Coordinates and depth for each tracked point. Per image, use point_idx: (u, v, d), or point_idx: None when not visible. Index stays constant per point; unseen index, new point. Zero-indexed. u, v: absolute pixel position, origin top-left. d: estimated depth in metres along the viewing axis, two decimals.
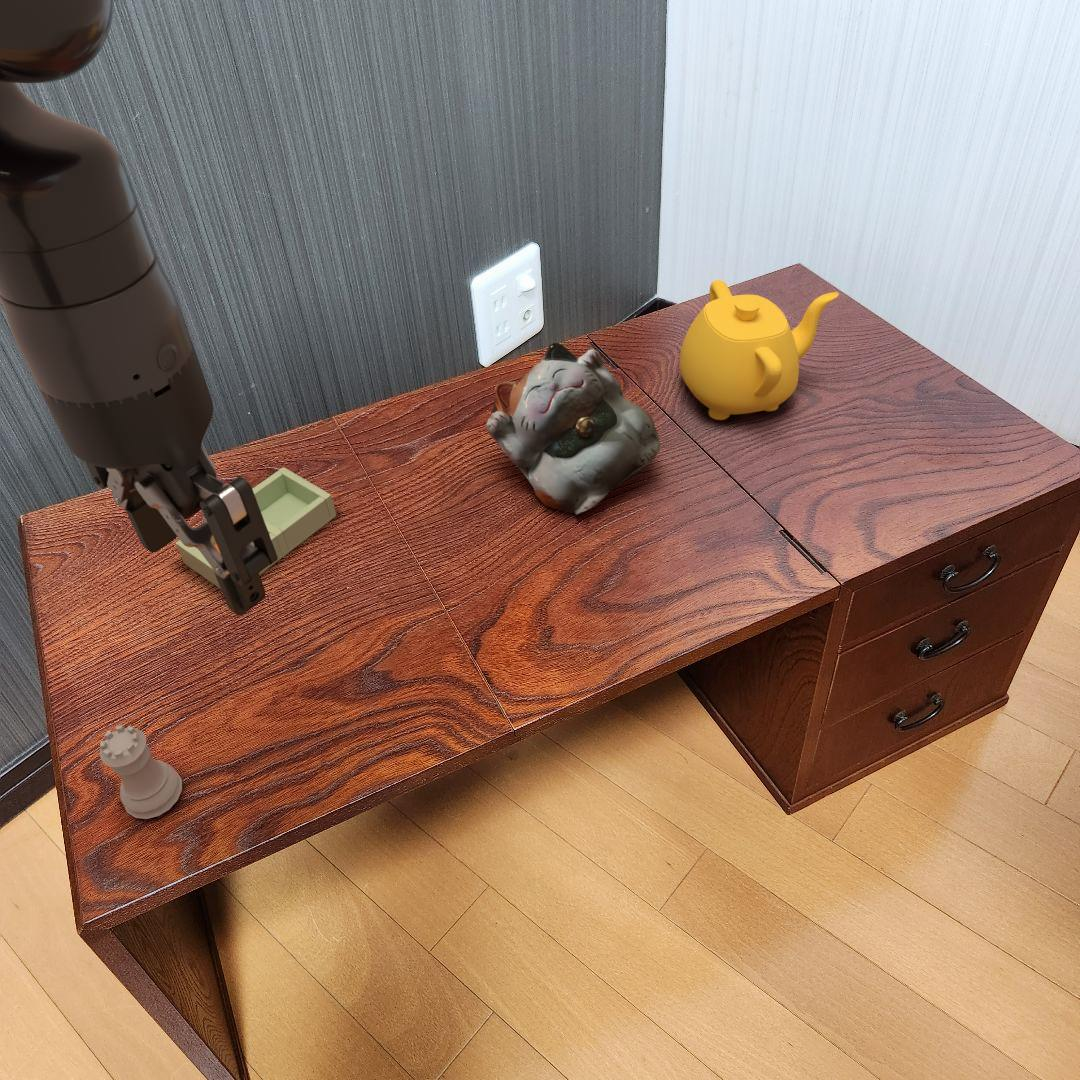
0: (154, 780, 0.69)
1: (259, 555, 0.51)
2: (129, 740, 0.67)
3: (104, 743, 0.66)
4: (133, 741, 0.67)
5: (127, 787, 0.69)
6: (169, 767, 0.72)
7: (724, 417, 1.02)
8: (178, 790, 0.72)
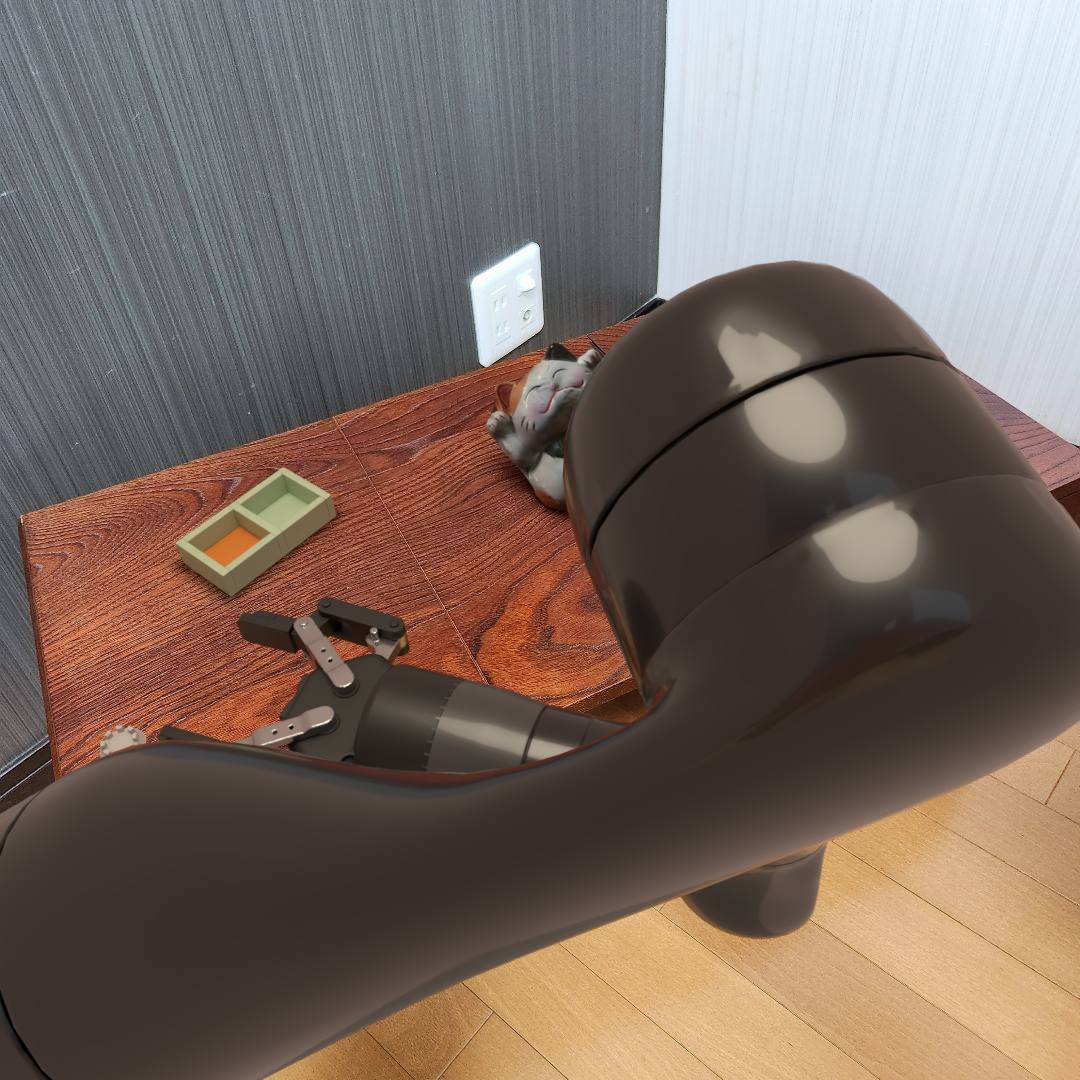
0: None
1: None
2: (129, 740, 0.67)
3: (104, 743, 0.66)
4: (133, 741, 0.67)
5: None
6: None
7: None
8: None
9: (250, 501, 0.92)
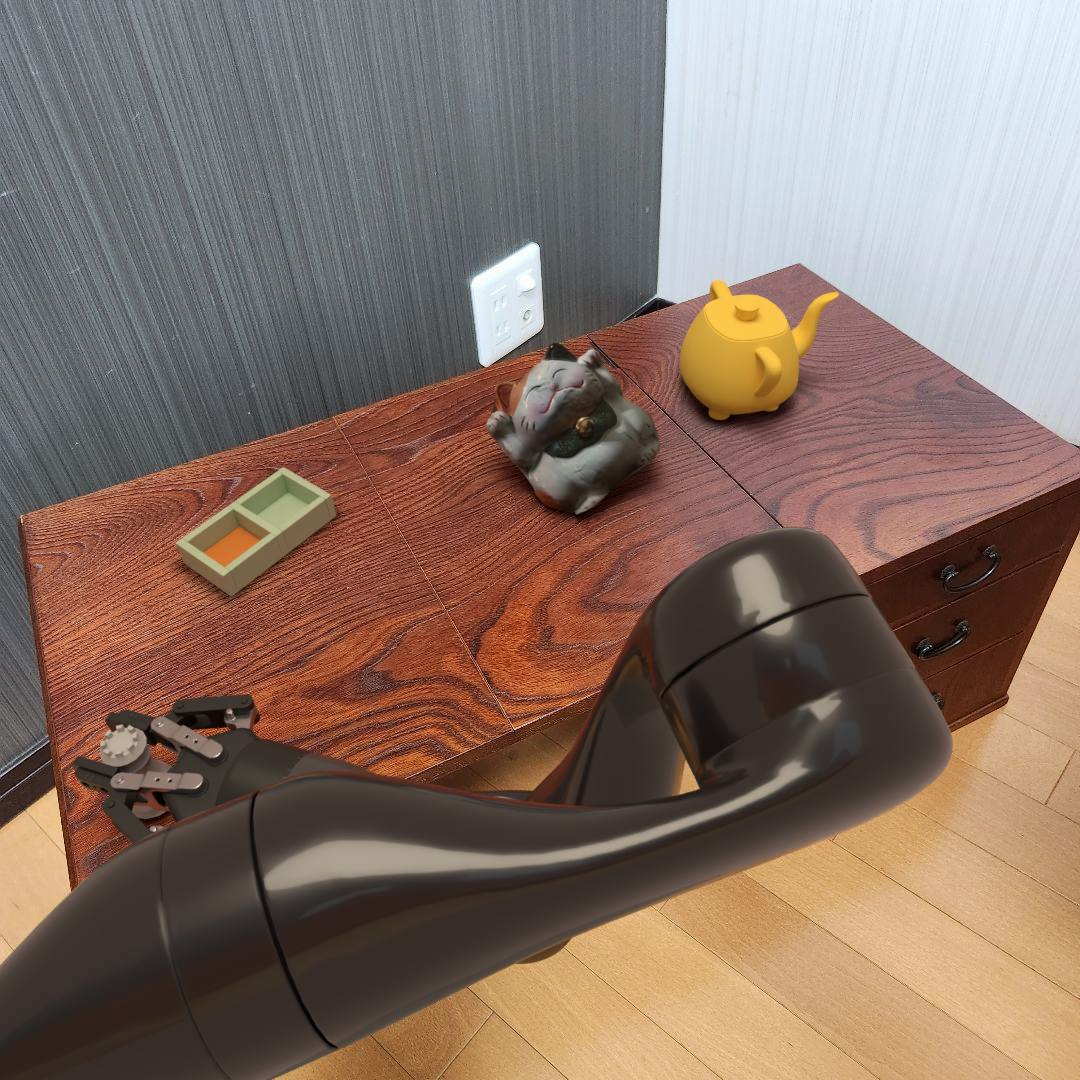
0: None
1: None
2: (129, 740, 0.67)
3: (104, 742, 0.66)
4: (133, 741, 0.67)
5: None
6: (169, 767, 0.72)
7: (724, 417, 1.02)
8: None
9: (250, 501, 0.92)
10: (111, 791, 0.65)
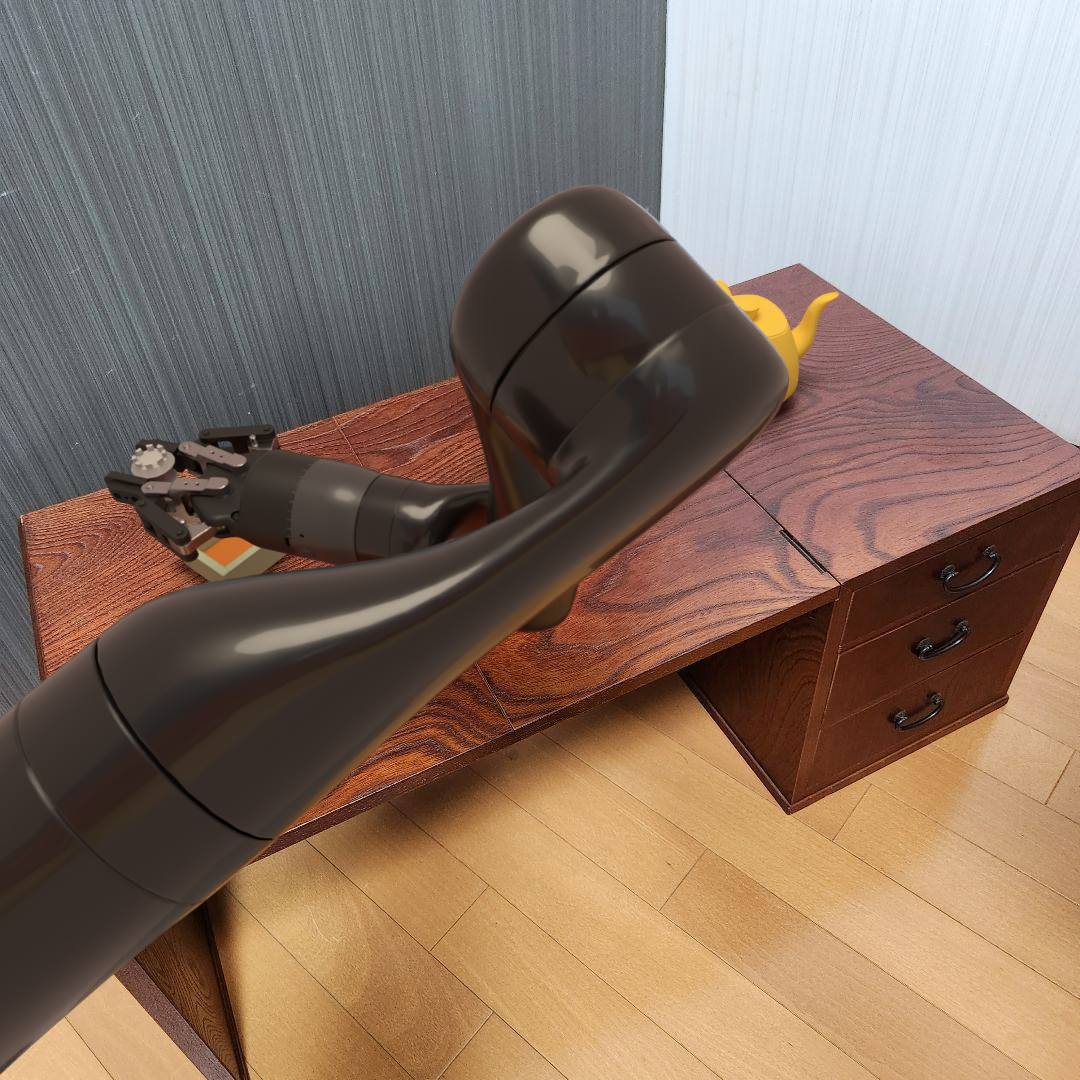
0: None
1: None
2: (158, 456, 0.71)
3: (135, 457, 0.70)
4: (162, 457, 0.71)
5: None
6: None
7: None
8: None
9: None
10: (142, 497, 0.69)
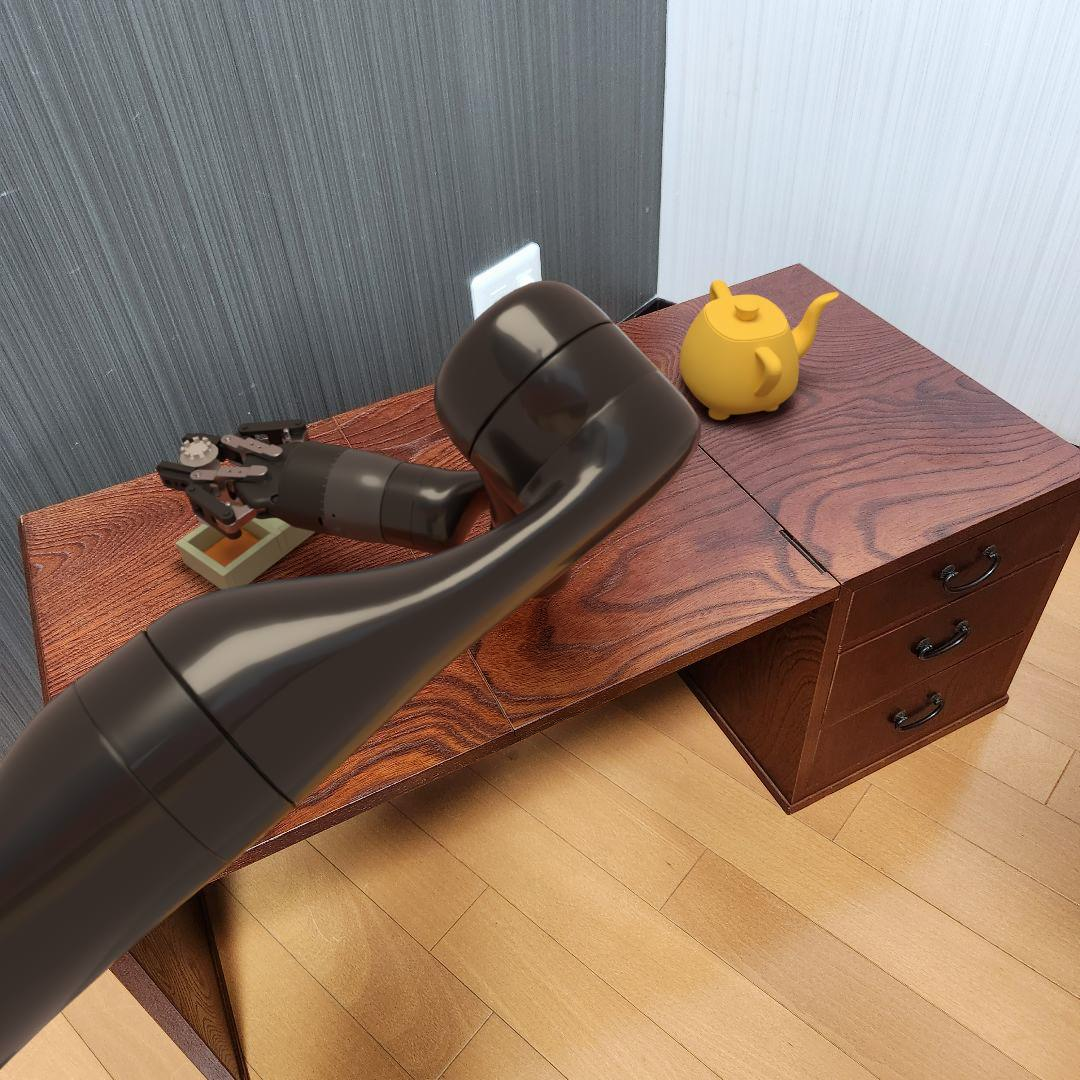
0: None
1: None
2: (204, 447, 0.80)
3: (184, 448, 0.80)
4: (207, 448, 0.80)
5: None
6: None
7: (724, 417, 1.02)
8: None
9: None
10: (190, 483, 0.78)
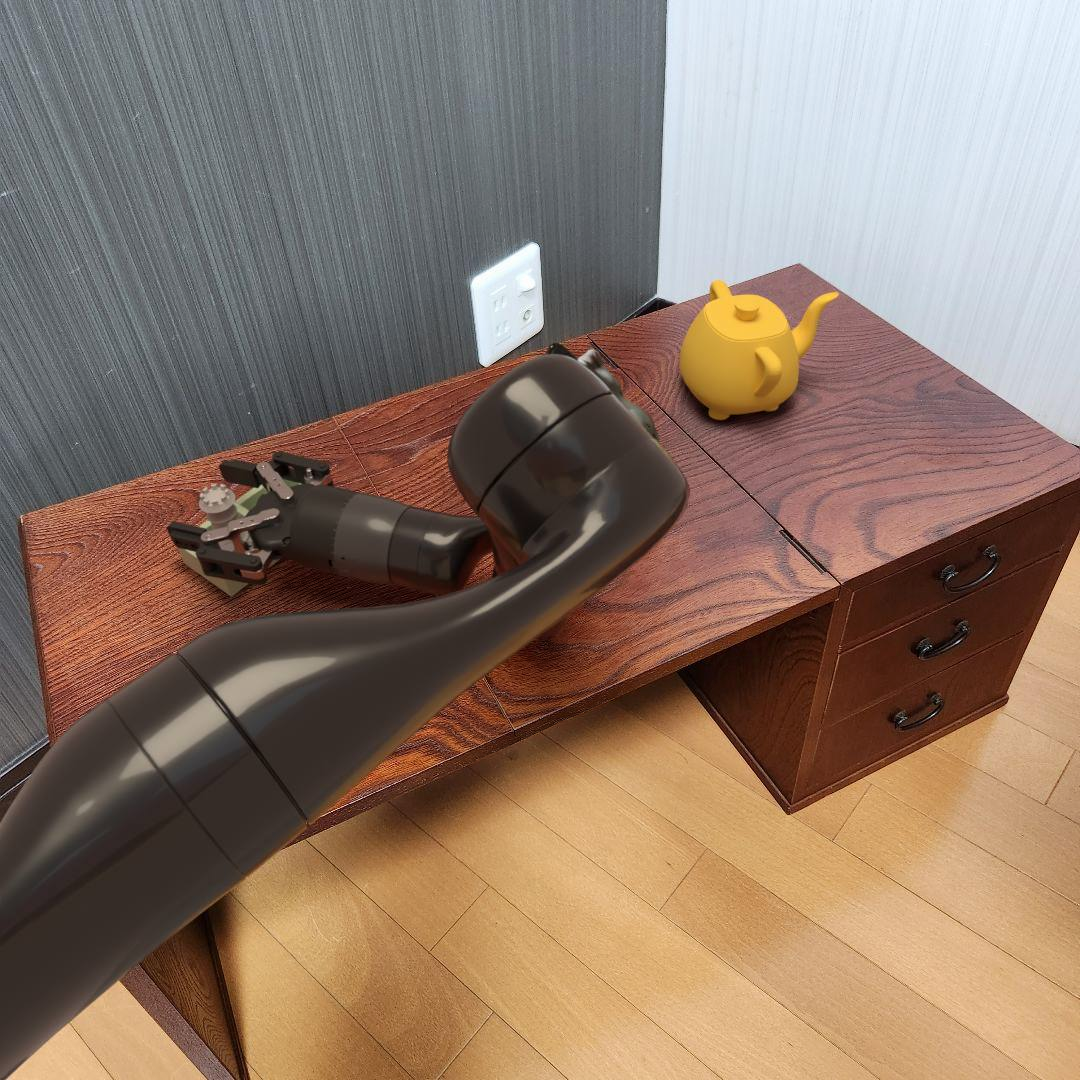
0: None
1: (211, 567, 0.80)
2: (222, 494, 0.84)
3: (203, 495, 0.84)
4: (225, 495, 0.84)
5: None
6: None
7: (724, 417, 1.02)
8: None
9: (250, 501, 0.92)
10: (201, 545, 0.80)
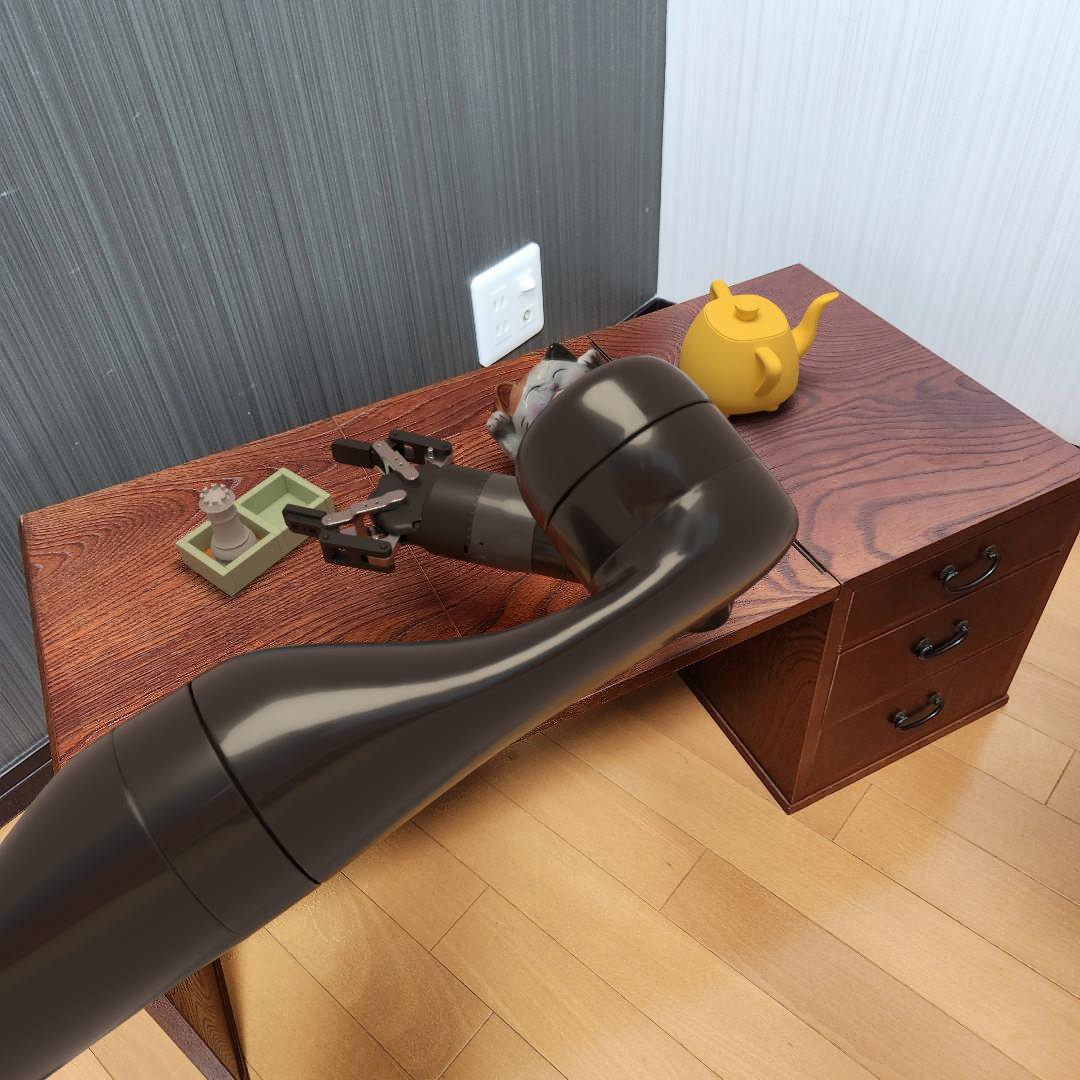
0: (239, 533, 0.87)
1: (334, 554, 0.73)
2: (222, 494, 0.84)
3: (203, 495, 0.84)
4: (225, 495, 0.84)
5: (218, 537, 0.86)
6: (249, 529, 0.89)
7: None
8: None
9: (250, 501, 0.92)
10: (322, 529, 0.73)
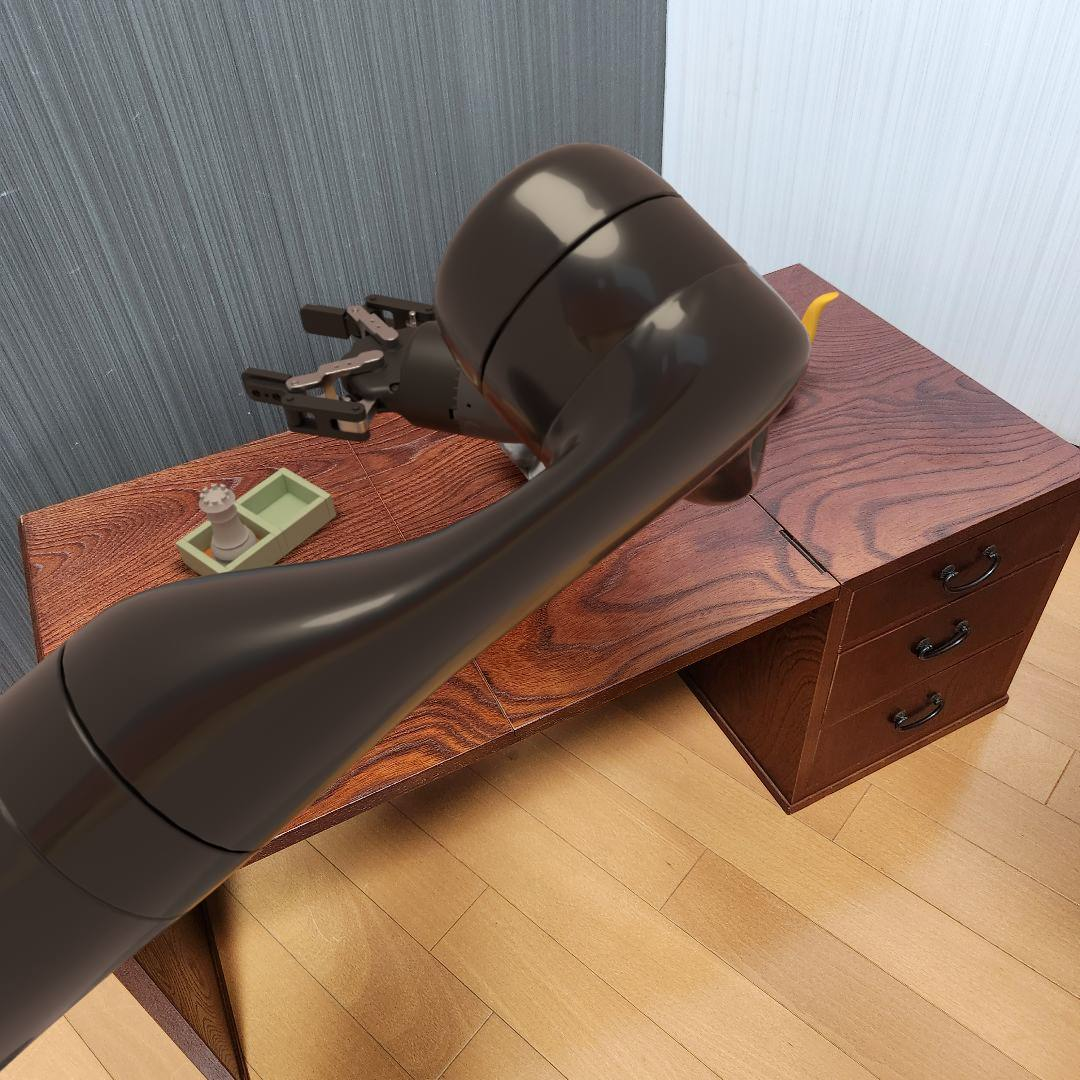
0: (239, 533, 0.87)
1: (300, 421, 0.63)
2: (222, 494, 0.84)
3: (203, 495, 0.84)
4: (225, 495, 0.84)
5: (218, 537, 0.86)
6: (249, 529, 0.89)
7: None
8: None
9: (250, 501, 0.92)
10: (286, 393, 0.64)
